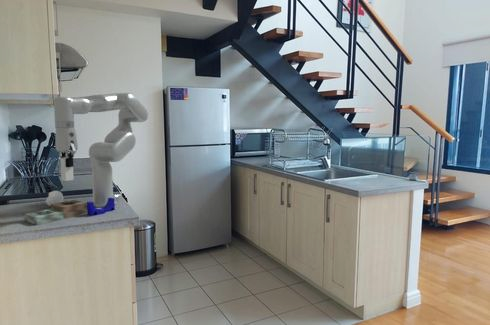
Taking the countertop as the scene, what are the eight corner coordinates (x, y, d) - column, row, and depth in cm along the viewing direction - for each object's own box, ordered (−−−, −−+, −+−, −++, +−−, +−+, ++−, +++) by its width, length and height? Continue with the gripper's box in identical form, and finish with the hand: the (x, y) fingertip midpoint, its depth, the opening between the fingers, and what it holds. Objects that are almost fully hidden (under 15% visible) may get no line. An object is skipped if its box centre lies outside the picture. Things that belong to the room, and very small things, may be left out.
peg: (69, 179, 157) (68, 157, 156) (73, 179, 155) (72, 157, 154) (61, 180, 154) (60, 157, 153) (65, 180, 152) (64, 158, 151)
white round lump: (46, 205, 173) (45, 190, 172) (63, 203, 176) (63, 188, 175) (45, 208, 166) (44, 193, 165) (63, 207, 169) (62, 191, 168)
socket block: (74, 210, 164) (73, 199, 163) (86, 213, 159) (86, 202, 158) (24, 220, 145) (24, 209, 145) (37, 224, 140) (36, 212, 140)
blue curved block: (92, 216, 154) (92, 203, 153) (87, 214, 157) (86, 201, 156) (116, 211, 164) (116, 198, 163) (111, 209, 166) (110, 197, 166)
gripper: (83, 125, 151) (85, 167, 153) (62, 125, 160) (64, 164, 162) (67, 125, 144) (69, 168, 147) (46, 125, 153) (48, 166, 155)
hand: (66, 166), depth 154 cm, fingers closed on peg, 3 cm apart
